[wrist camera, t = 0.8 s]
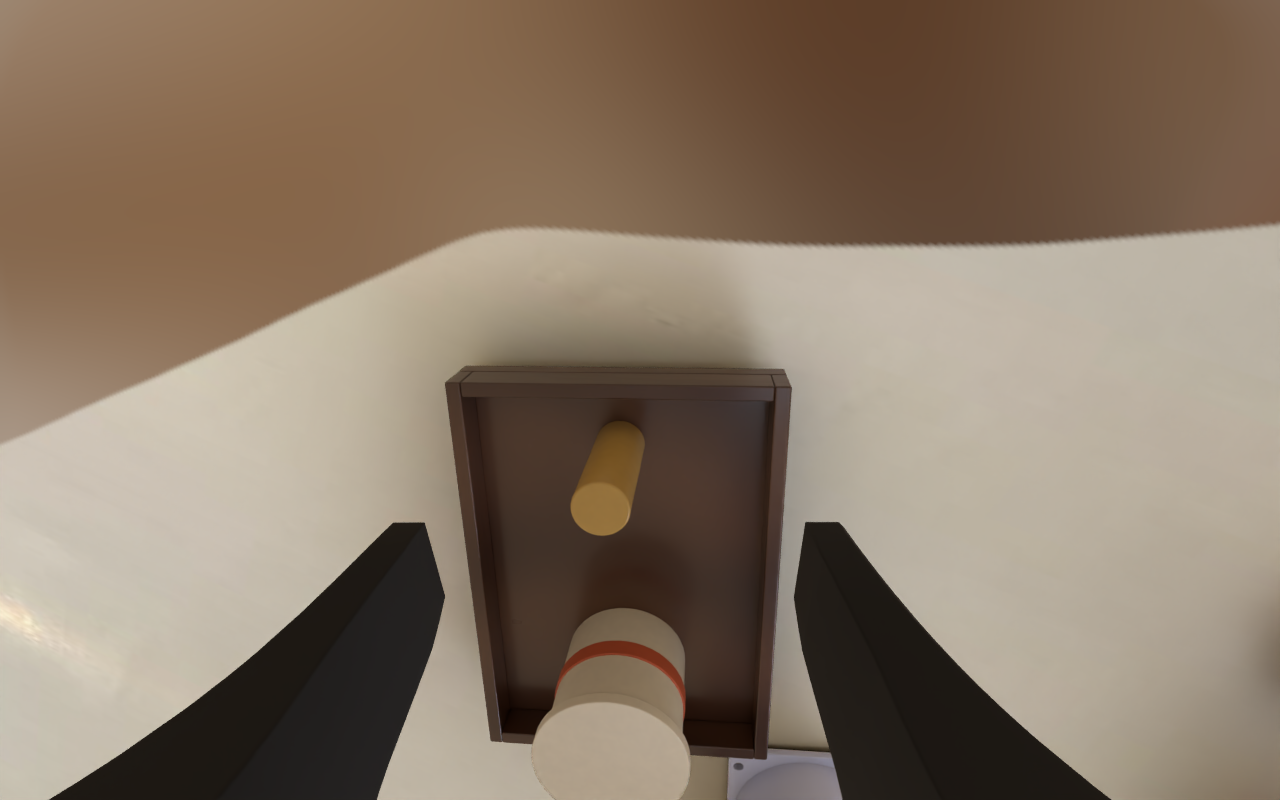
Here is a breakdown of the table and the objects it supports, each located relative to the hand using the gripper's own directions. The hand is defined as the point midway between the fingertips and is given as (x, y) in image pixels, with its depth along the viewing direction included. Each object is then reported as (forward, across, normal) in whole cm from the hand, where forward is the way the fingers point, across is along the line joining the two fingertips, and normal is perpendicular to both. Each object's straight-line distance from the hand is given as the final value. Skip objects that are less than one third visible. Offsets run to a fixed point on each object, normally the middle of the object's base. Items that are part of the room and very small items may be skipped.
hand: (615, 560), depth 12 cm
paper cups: (+10, +1, +17) cm, 19 cm away
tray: (+12, +1, +12) cm, 17 cm away
